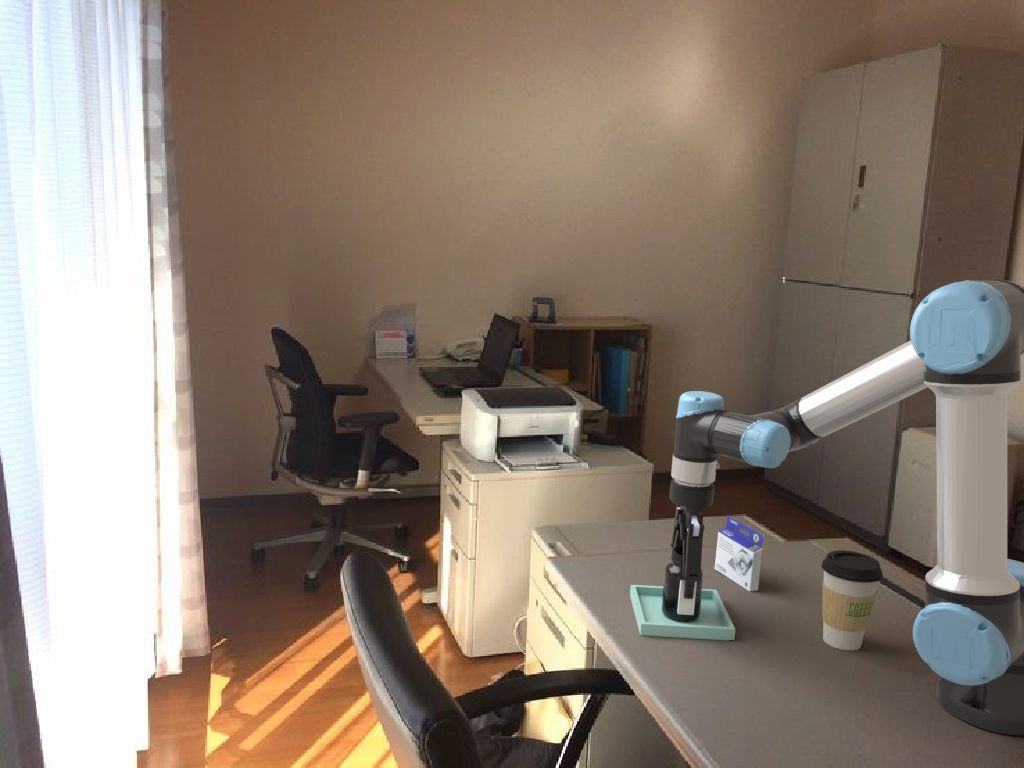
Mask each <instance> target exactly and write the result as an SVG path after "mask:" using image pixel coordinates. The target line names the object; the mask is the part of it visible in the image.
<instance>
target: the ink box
mask: <svg viewBox="0 0 1024 768" xmlns="http://www.w3.org/2000/svg"><path fill="white" fill-rule="evenodd" d="M741 530H743V531H744V530H745V532H746V533H748V534H745V533H744V532H742V531H741ZM765 537H766V535H765V534H763V533H761V532H760V531H758V530H755V529H753V528H751V526H748V525H746V524H744V523H742V522H741V521H739V520H738V519H736V518H733V517H731V516H729V515H727V516H726V526H725V527H724V528H722V529H720V530H718V532H717V540H716V541H717V543H716V553H715V560H714V562H715V563H714V567H713V568H714V570H715V571H717V572H719V573H720V574H722V575H723V576H725V577H726V578H727V579H729V580H731V581H733V582H734V583H736V584H737V585H739V586H740V587H741V588H744V589H745V590H746V591H748V592H749V593H750V592H756V591H758V590H759V584H760V573H761V563H762V553H763V546H764V541H765Z"/></svg>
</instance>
